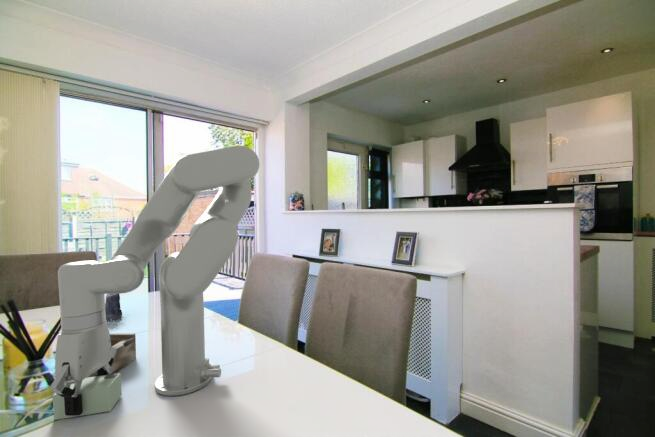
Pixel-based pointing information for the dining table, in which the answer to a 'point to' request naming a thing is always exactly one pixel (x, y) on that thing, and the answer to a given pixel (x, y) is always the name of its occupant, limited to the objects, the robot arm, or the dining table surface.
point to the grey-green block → (93, 395)
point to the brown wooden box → (121, 351)
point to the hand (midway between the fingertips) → (89, 402)
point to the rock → (112, 307)
